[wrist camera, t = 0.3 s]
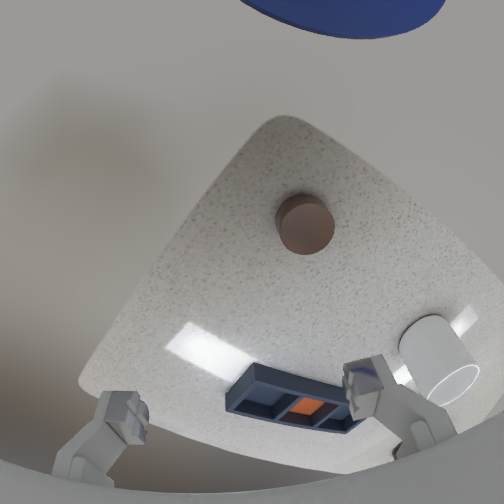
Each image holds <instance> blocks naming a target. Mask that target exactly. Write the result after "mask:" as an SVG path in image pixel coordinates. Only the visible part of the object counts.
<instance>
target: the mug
mask: <svg viewBox="0 0 504 504" xmlns="http://www.w3.org/2000/svg"><path fill="white" fill-rule="evenodd" d="M399 351H400V354H401V357H402V359H403V361H404V363H405V364H406V366H407V368H408V370H409V372H410V374H411V376H412V378H413V380H414V382H415V384H416V386H417V388H418V390H419V392H420V394H421V396H422V397H424V398H426V399H427V400H429V401H431V402H433V403H434V404H436V405H438V406H440V407H441V406H444V405H446V404H448V403H450V402H452V401H453V400H455V399H457V398H458V397H459V396H461V395H462V394H463V393H464V392H465V391H467V390H468V389H469V388H470V386H471V385H472V384H473V383H474V381H475V380H476V378H477V377H478V374H479V366H478V364H477V363H476V362H475V360H474V359H473V357H472V356H471V354H470V353H469V351H468V350H467V348H466V347H465V346H464V344H463V343H462V341H461V340H460V339H459V337H458V336H457V335H456V333H455V332H454V330H453V329H452V328H451V326H450V325H449V324H448V323H447V321H446V320H445V319H444V318H442V317H440V316H437V315H432V316H427V317H424V318H422V319H420V320H418V321H417V322H415V323H414V324H413V325H411V326H410V327H409V328H408V329H407V331H406V332H405V333H404V335H403V336H402V338H401V341H400V344H399Z"/></svg>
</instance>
